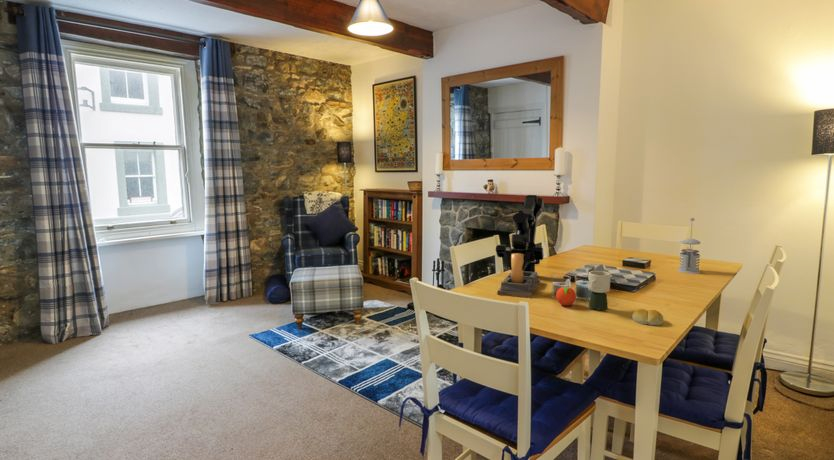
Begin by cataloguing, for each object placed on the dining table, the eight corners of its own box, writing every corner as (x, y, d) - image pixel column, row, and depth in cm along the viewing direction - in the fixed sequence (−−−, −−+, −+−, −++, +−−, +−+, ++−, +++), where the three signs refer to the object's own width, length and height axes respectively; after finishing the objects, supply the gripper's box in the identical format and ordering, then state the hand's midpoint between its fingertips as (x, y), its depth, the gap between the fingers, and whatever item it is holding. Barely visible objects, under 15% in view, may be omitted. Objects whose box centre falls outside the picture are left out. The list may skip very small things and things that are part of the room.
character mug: (595, 303, 170) (596, 268, 168) (614, 307, 165) (616, 271, 163) (581, 310, 163) (582, 274, 161) (601, 314, 158) (602, 277, 156)
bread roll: (633, 316, 156) (634, 304, 156) (663, 320, 152) (664, 308, 151) (630, 323, 149) (630, 311, 149) (661, 328, 145) (662, 315, 144)
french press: (701, 270, 217) (705, 217, 214) (700, 275, 208) (704, 220, 204) (677, 267, 223) (680, 216, 219) (675, 272, 213) (678, 218, 210)
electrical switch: (601, 290, 187) (599, 268, 186) (588, 290, 190) (586, 267, 189) (608, 285, 194) (607, 264, 193) (595, 285, 197) (594, 263, 196)
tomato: (575, 309, 163) (576, 290, 162) (554, 308, 166) (555, 288, 165) (576, 303, 171) (576, 284, 170) (556, 301, 173) (556, 283, 172)
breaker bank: (510, 279, 207) (510, 267, 206) (540, 282, 202) (540, 269, 201) (497, 294, 184) (497, 281, 183) (530, 297, 179) (530, 283, 178)
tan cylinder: (514, 282, 190) (515, 252, 189) (525, 284, 187) (525, 254, 185) (508, 285, 187) (509, 254, 185) (519, 286, 184) (519, 256, 182)
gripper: (496, 225, 191) (490, 256, 182) (543, 227, 184) (538, 259, 175) (500, 241, 199) (494, 272, 191) (545, 243, 192) (541, 275, 184)
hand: (516, 269), depth 185 cm, fingers closed on tan cylinder, 5 cm apart
